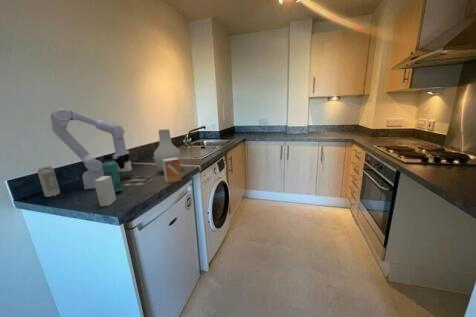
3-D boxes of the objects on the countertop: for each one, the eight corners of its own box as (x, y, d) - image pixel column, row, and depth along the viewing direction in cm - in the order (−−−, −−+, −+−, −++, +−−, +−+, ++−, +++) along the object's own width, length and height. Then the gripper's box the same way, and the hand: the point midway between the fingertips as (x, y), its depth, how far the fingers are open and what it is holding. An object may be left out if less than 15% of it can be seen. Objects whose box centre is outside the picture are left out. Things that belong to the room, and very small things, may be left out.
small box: (167, 183, 112) (164, 161, 109) (164, 180, 117) (161, 159, 114) (182, 180, 116) (179, 158, 113) (178, 177, 121) (176, 156, 118)
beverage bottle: (109, 192, 104) (100, 154, 99) (123, 189, 107) (116, 152, 102) (106, 196, 98) (97, 157, 94) (121, 193, 101) (114, 155, 96)
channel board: (124, 186, 112) (123, 181, 111) (132, 180, 120) (131, 176, 120) (146, 184, 112) (145, 180, 111) (152, 179, 121) (151, 175, 120)
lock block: (117, 171, 121) (115, 162, 120) (120, 169, 125) (119, 161, 124) (128, 171, 122) (127, 162, 120) (131, 169, 125) (130, 160, 124)
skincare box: (107, 200, 94) (101, 176, 91) (116, 199, 94) (111, 175, 91) (99, 206, 88) (93, 180, 85) (109, 205, 88) (103, 180, 85)
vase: (187, 168, 140) (182, 128, 133) (172, 176, 125) (166, 131, 118) (166, 167, 145) (161, 128, 138) (150, 174, 130) (143, 131, 123)
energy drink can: (57, 192, 107) (49, 165, 103) (63, 194, 104) (55, 166, 101) (43, 197, 102) (34, 168, 98) (48, 199, 99) (39, 170, 96)
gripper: (119, 147, 113) (124, 170, 116) (132, 143, 127) (135, 164, 130) (107, 148, 113) (111, 171, 116) (121, 144, 127) (125, 164, 130)
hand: (123, 167), depth 123 cm, fingers closed on lock block, 4 cm apart
